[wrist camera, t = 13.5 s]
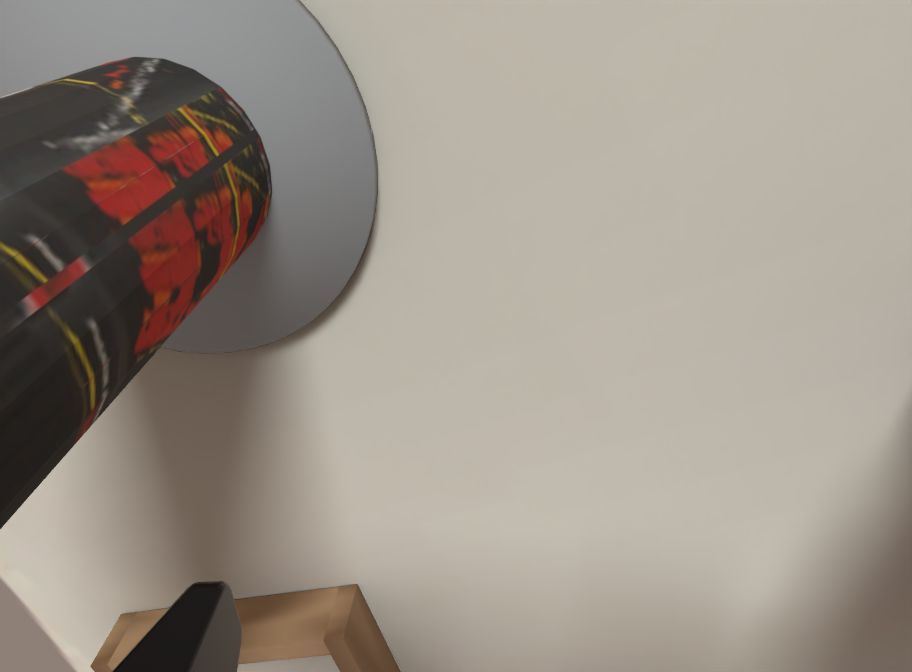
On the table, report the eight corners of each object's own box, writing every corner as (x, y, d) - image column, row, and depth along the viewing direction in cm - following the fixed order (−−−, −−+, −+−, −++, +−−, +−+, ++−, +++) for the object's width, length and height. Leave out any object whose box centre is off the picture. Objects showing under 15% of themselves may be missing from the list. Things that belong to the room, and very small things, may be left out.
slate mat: (439, 36, 18) (436, 39, 17) (314, 393, 24) (309, 403, 23) (-40, -171, 17) (-58, -174, 16) (-45, 262, 22) (-59, 270, 22)
